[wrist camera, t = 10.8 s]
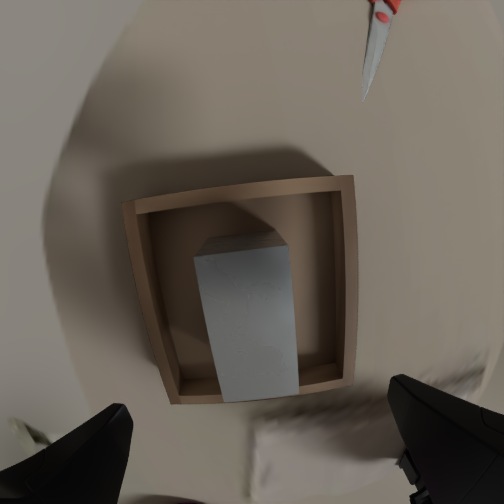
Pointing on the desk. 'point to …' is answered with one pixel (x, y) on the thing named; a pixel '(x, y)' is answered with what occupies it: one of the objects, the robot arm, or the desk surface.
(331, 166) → the desk surface
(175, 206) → the walnut tray
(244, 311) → the aluminium block
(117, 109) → the desk surface
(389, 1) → the scissors
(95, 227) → the desk surface
